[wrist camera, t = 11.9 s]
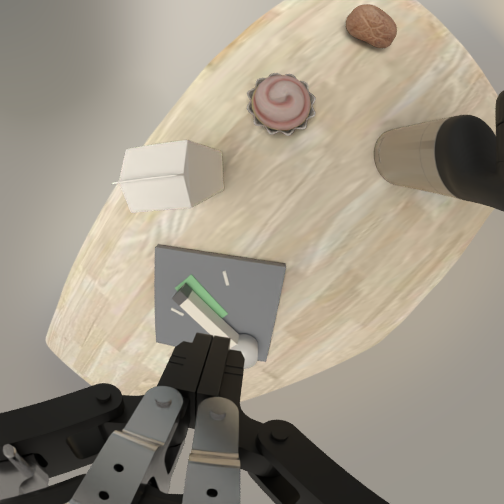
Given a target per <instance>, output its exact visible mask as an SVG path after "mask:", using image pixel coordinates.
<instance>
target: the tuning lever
mask: <svg viewBox="0 0 504 504" xmlns="http://www.w3.org/2000/svg"><path fill="white" fill-rule="evenodd" d="M172 299H173V300H174V301H175V302H176V303H177V304H178V305H179V306H180V307H181V308H182V309H184V310H185V311H186V312H187V313H188V314H189V315H190V316H191V317H192V318H193V319H194V320H195V321H196V322H197V323H198V324H199V325H201V326H202V327H203V328H204V329H205V330H206V331H207V332H208V333H209V334H210V335H213V337H214V335H216V336H222V337H228V338H231V341H230V349H231V350H238V351H241V352H242V354H243V356H244V358H245V362H244V369H246V368H250V367H252V366H254V365H255V364H256V362H257V358H258V343H257V341H256V339H255V338H254V337H252V336H250V335H247V334H238V333H237V332H236V331H235V330H234V329H232V328H231V327H230V326H229V325H228V324H227V323H226V322H225V321H224V320H223V319H222V318H221V317H220V316H219V315H217V314H216V313H215V312H214V311H213V310H212V309H211V308H210V307H209V306H208V305H207V304H206V303H205V302H204V301H203V300H202V299H201V298H200V297H199V296H198V295H197V294H196V293H195V292H194V291H193V290H192V289H191V288H190V287H189V286H188V285H187V284H186V283H185V284H184V285H183V286H182V287H181V288H180V289H178V290H177V292H176V293H175V295H174V296H173V298H172Z"/></svg>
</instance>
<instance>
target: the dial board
mask: <svg viewBox="0 0 504 504" xmlns="http://www.w3.org/2000/svg"><path fill="white" fill-rule="evenodd" d="M285 270H286V265H285V264H283V263H276V262H270V261H263V260H256V259H250V258H243V257H236V256H230V255H223V254H217V253H210V252H204V251H197V250H191V249H184V248H178V247H171V246H165V245H157V246H156V247H155V328H156V342H158V343H162V344H166V345H171V346H175V347H176V346H177V345H179V344H180V343H181V342H183V341H186V342H191V343H192V342H193V340H194V337H195V335H196V333H197V332H198V333H204V334H209V333H208V332H207V331H206V330H205V329H204V328H203V327H202V326H201V325H199V324H198V323H197V322H196V321H195V320H194V319H193V318H192V317H191V316H190V315H189V314H188V313H187V312H186V311H185V310H184V309H182V308H181V307H180V306H179V305H178V304H177V303H176V302H175V301H174V300H173V299H172V298H173V296H174V295H175V293H176V292H177V290H178V289H180V288H181V287H182V286H183V285H184V284H185V283H186V284H187V285H188V286H189V287H190V288H191V289H192V290H193V291H194V292H195V293H196V294H197V295H198V296H199V297H200V298H201V299H202V300H203V301H204V302H205V303H206V304H207V305H208V306H209V307H210V308H211V309H212V310H213V311H214V312H215V313H216V314H217V315H219V316H220V317H221V318H222V319H223V320H224V321H225V322H226V323H227V324H228V325H229V326H230V327H231V328H232V329H234V330H235V331H236V332H237V333H238V334H247V335H250V336H252V337H254V338H255V339H256V341H257V343H258V358H257V361H264V362H266V359H267V355H268V350H269V346H270V341H271V337H272V332H273V328H274V323H275V318H276V314H277V309H278V304H279V299H280V295H281V290H282V285H283V280H284V275H285ZM209 335H210V334H209Z"/></svg>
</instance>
